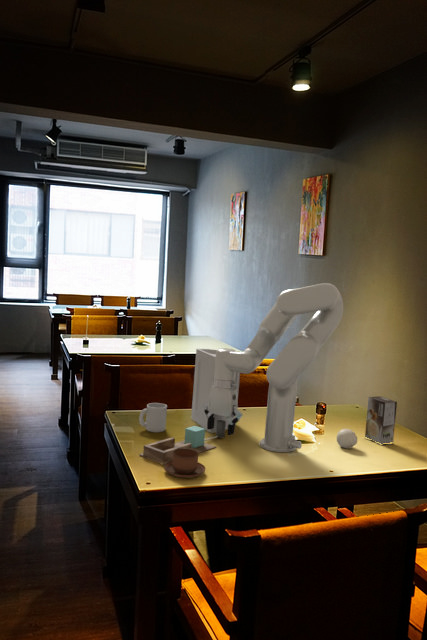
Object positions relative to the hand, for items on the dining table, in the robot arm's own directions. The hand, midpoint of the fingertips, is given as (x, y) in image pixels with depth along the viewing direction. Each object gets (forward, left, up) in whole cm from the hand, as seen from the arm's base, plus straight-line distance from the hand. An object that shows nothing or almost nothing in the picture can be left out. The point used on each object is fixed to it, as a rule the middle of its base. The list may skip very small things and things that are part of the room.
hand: (220, 431), depth 193 cm
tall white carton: (+11, -13, -2) cm, 17 cm away
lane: (0, +22, -2) cm, 22 cm away
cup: (+22, +12, -2) cm, 25 cm away
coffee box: (-41, -45, -2) cm, 61 cm away
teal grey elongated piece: (0, +8, -2) cm, 8 cm away
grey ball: (-36, -27, -2) cm, 45 cm away
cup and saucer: (-13, +35, -3) cm, 37 cm away
